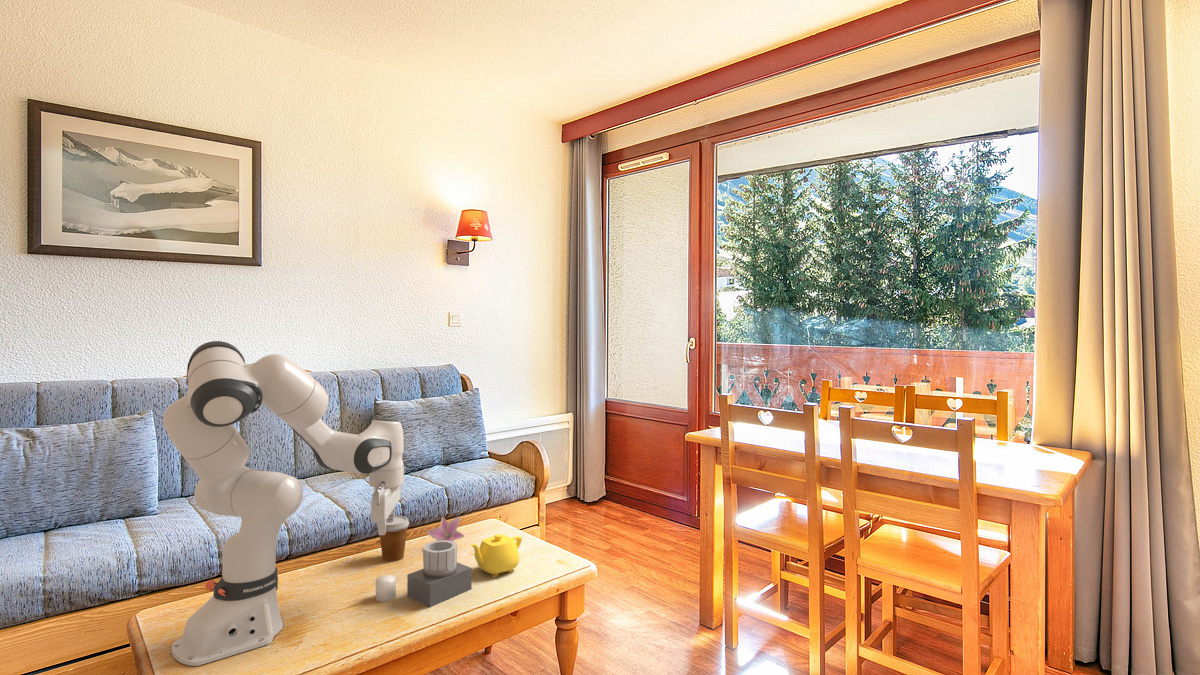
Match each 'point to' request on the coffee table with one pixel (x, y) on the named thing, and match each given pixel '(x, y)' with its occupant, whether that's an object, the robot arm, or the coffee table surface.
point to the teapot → (498, 554)
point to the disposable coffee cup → (394, 539)
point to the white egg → (385, 588)
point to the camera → (439, 575)
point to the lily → (446, 530)
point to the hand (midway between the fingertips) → (386, 528)
